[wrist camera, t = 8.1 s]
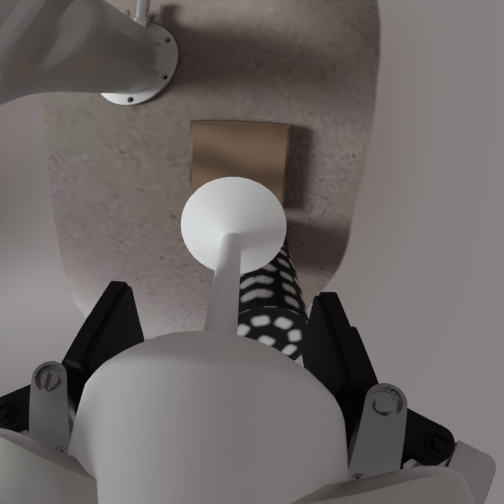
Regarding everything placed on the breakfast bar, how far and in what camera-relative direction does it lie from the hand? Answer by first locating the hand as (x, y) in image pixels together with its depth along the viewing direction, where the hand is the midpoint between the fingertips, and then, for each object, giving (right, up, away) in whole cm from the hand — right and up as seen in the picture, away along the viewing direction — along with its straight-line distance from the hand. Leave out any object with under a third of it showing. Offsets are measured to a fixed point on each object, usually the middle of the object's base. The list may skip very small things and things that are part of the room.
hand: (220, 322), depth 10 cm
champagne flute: (0, +4, +8) cm, 9 cm away
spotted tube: (+2, +4, +32) cm, 32 cm away
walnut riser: (-1, +14, +26) cm, 30 cm away
